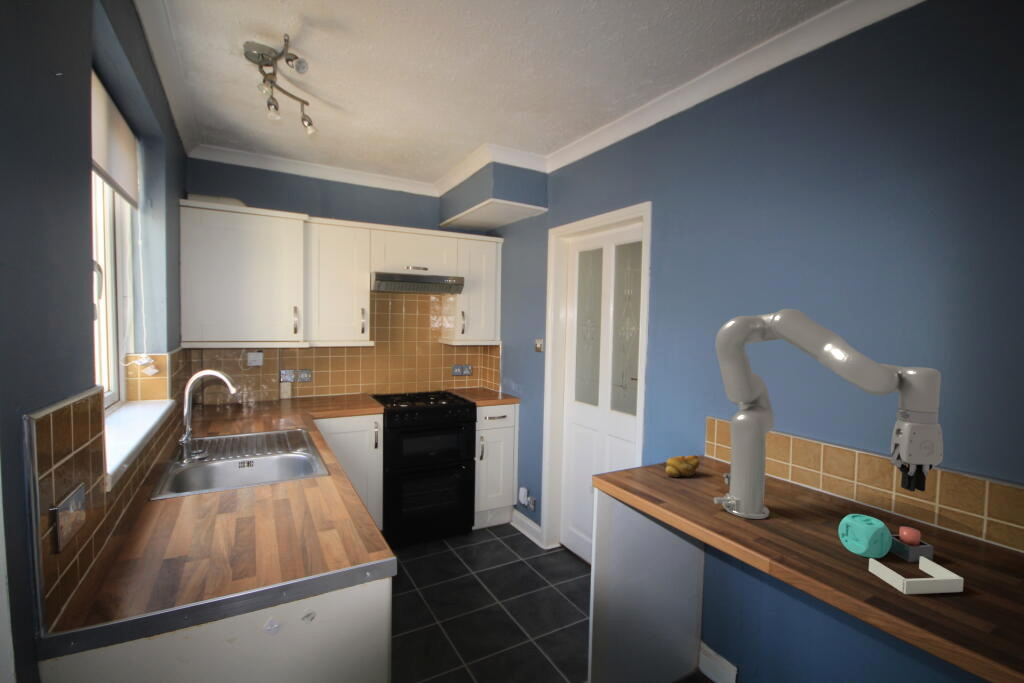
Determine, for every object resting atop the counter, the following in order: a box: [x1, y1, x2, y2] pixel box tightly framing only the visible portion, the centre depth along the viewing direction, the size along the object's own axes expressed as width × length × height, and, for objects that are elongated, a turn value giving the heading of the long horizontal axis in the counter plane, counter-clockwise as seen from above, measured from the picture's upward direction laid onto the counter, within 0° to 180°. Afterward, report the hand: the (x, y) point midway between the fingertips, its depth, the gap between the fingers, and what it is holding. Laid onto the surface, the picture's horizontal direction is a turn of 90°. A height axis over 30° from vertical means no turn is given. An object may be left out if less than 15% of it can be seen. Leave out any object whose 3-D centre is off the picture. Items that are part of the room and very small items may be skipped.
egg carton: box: [723, 472, 730, 486], centre depth 166 cm, size 11×8×4 cm
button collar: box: [888, 533, 934, 563], centre depth 117 cm, size 6×6×4 cm
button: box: [898, 526, 921, 546], centre depth 117 cm, size 4×4×4 cm
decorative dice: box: [837, 513, 892, 559], centre depth 119 cm, size 8×8×8 cm
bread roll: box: [665, 454, 701, 478], centre depth 175 cm, size 13×10×8 cm
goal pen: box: [868, 556, 964, 595], centre depth 106 cm, size 14×9×3 cm
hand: (912, 488), depth 116 cm, fingers closed
